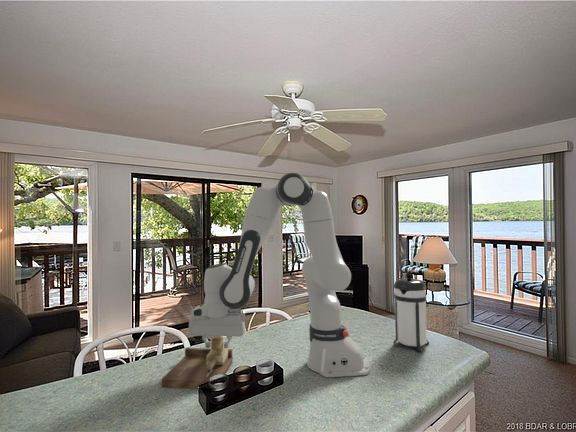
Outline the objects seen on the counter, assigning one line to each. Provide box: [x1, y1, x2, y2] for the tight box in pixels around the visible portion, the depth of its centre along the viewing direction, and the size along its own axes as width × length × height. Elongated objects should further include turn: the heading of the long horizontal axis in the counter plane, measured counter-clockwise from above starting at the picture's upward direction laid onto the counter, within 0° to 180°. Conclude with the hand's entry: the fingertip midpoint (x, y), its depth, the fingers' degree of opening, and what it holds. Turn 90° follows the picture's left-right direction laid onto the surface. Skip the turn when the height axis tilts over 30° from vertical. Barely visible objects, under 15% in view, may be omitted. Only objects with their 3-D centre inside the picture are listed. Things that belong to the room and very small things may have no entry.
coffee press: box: [392, 272, 430, 353], centre depth 127 cm, size 17×16×30 cm
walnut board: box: [161, 347, 233, 390], centre depth 104 cm, size 18×18×5 cm
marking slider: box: [206, 336, 229, 372], centre depth 105 cm, size 6×12×8 cm, turn 174°
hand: (217, 347), depth 108 cm, fingers open, 5 cm apart
